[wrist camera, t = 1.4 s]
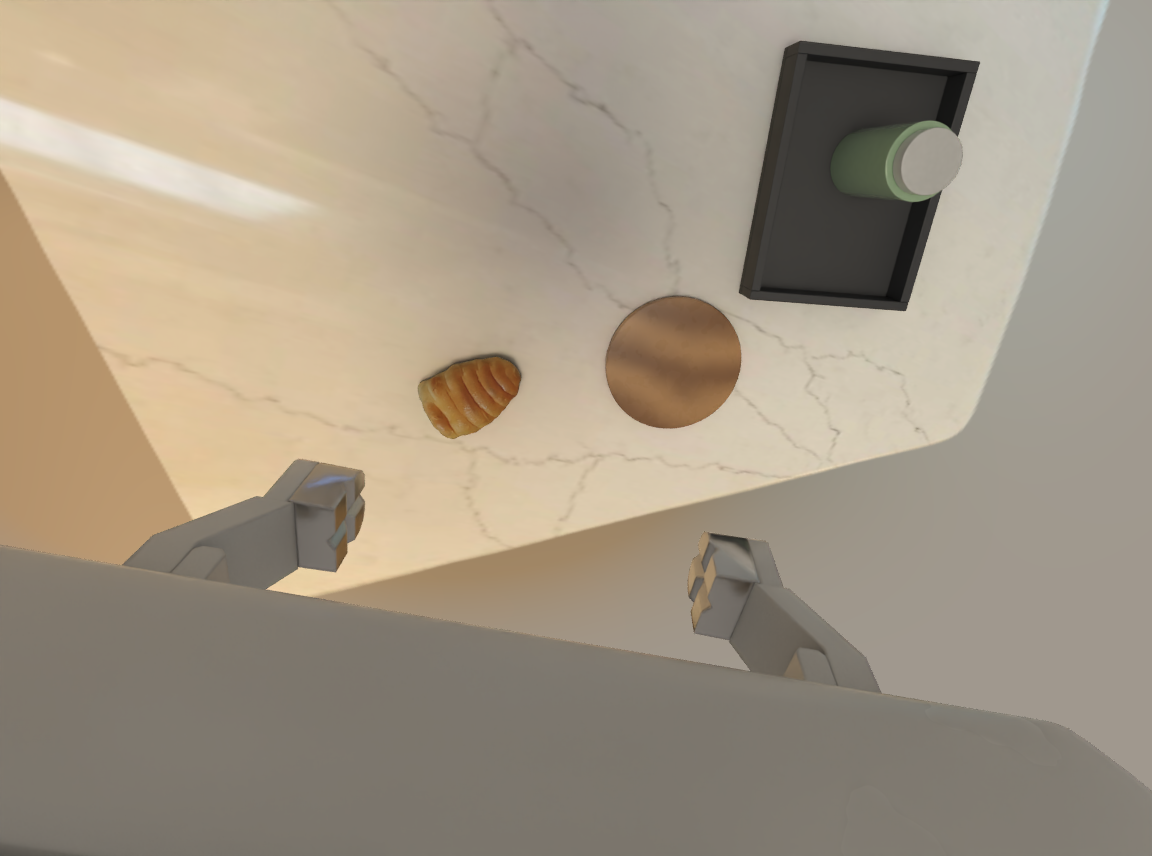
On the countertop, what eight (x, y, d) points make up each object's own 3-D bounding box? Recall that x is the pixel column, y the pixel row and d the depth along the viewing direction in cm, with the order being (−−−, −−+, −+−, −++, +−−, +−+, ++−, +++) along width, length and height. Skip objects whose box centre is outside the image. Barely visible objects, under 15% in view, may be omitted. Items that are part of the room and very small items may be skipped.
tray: (784, 47, 49) (800, 40, 46) (955, 67, 50) (980, 61, 48) (738, 292, 57) (749, 299, 54) (887, 304, 58) (906, 311, 55)
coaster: (613, 290, 56) (614, 292, 55) (750, 301, 57) (753, 303, 56) (598, 421, 61) (599, 425, 60) (725, 429, 62) (727, 432, 61)
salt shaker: (838, 124, 51) (907, 115, 42) (900, 131, 51) (981, 123, 42) (823, 193, 53) (884, 199, 44) (882, 199, 54) (955, 206, 44)
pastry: (498, 335, 57) (496, 346, 53) (535, 394, 59) (535, 408, 56) (413, 383, 58) (406, 397, 55) (453, 438, 61) (448, 455, 57)
